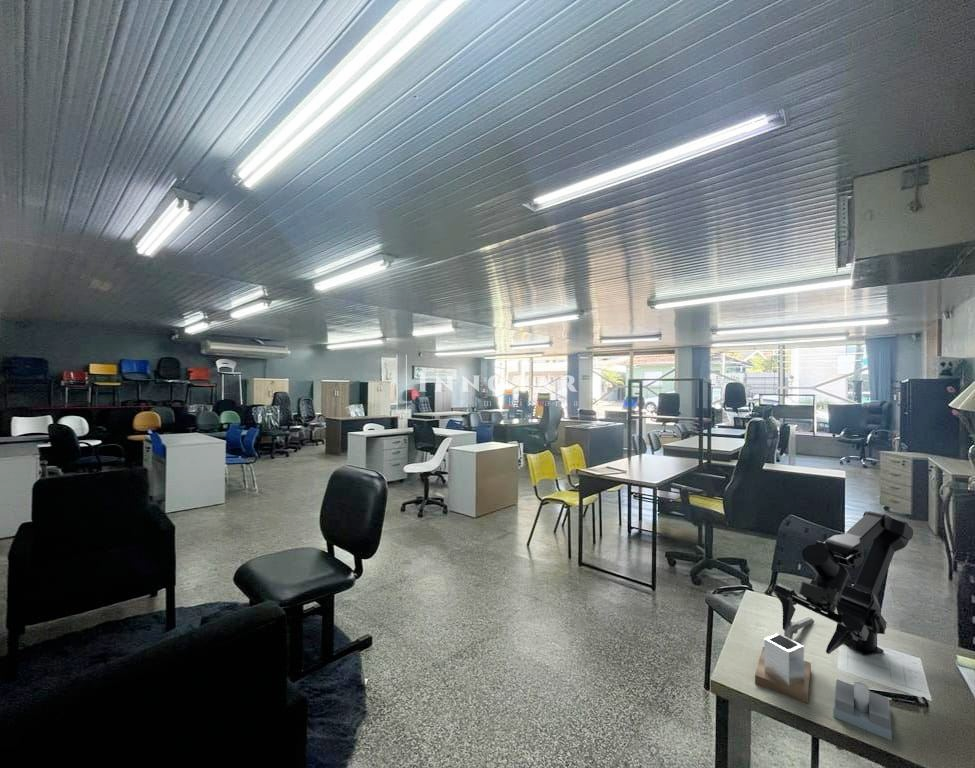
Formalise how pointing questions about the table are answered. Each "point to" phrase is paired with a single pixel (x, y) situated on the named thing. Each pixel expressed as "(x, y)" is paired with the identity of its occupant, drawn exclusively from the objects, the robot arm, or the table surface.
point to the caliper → (797, 627)
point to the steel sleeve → (784, 659)
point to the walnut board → (794, 691)
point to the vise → (862, 708)
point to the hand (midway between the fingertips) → (804, 641)
